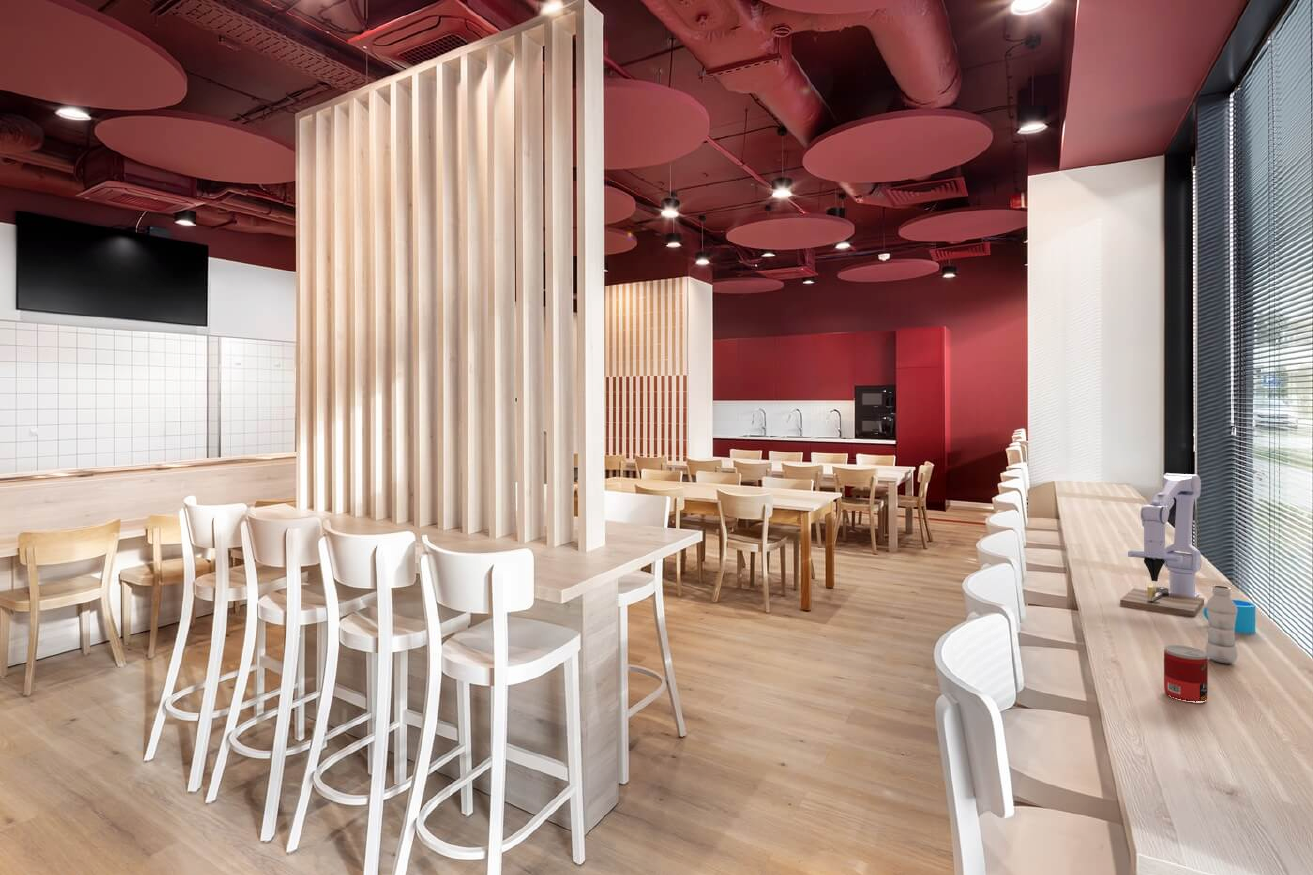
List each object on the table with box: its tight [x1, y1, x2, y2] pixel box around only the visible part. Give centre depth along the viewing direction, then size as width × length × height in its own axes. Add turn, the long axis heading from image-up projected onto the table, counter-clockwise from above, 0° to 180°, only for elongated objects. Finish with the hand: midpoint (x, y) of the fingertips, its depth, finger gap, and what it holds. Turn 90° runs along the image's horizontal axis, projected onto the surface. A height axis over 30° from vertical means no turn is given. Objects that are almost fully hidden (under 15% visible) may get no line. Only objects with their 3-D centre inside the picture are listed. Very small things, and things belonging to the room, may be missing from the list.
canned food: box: [1163, 644, 1209, 702], centre depth 154 cm, size 8×8×11 cm
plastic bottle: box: [1205, 585, 1239, 664], centre depth 174 cm, size 6×7×20 cm
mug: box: [1203, 598, 1256, 635], centre depth 201 cm, size 12×8×8 cm
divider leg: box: [1147, 584, 1169, 602], centre depth 227 cm, size 16×4×5 cm, turn 128°
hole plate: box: [1119, 588, 1205, 618], centre depth 226 cm, size 20×20×2 cm
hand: (1154, 580), depth 222 cm, fingers closed
